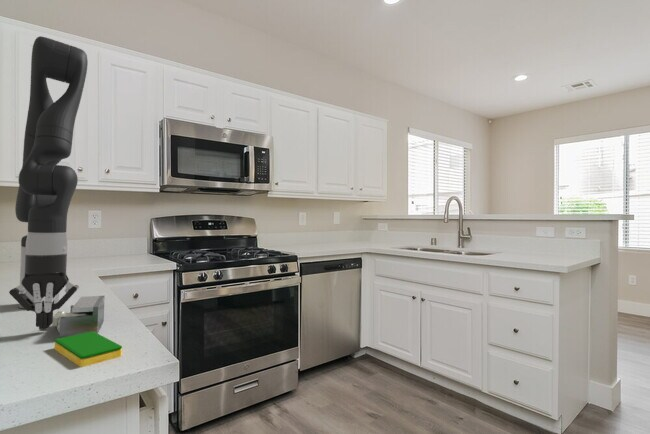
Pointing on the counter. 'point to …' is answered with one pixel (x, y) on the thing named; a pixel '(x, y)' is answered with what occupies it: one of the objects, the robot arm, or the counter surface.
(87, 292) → the counter surface
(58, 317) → the pipe fitting
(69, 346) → the dish sponge
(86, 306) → the bracket
